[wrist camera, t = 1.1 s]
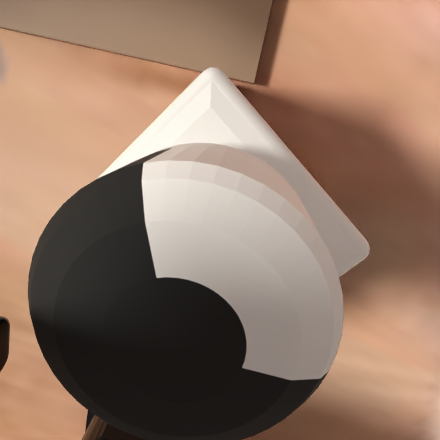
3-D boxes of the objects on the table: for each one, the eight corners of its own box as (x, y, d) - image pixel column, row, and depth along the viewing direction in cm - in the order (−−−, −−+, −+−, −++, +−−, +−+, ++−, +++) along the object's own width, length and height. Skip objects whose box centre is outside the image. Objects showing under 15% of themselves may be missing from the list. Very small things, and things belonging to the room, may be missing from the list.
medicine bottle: (218, 284, 19) (171, 546, 8) (121, 184, 18) (-105, 319, 6) (328, 196, 17) (481, 370, 6) (228, 79, 16) (174, 10, 5)
